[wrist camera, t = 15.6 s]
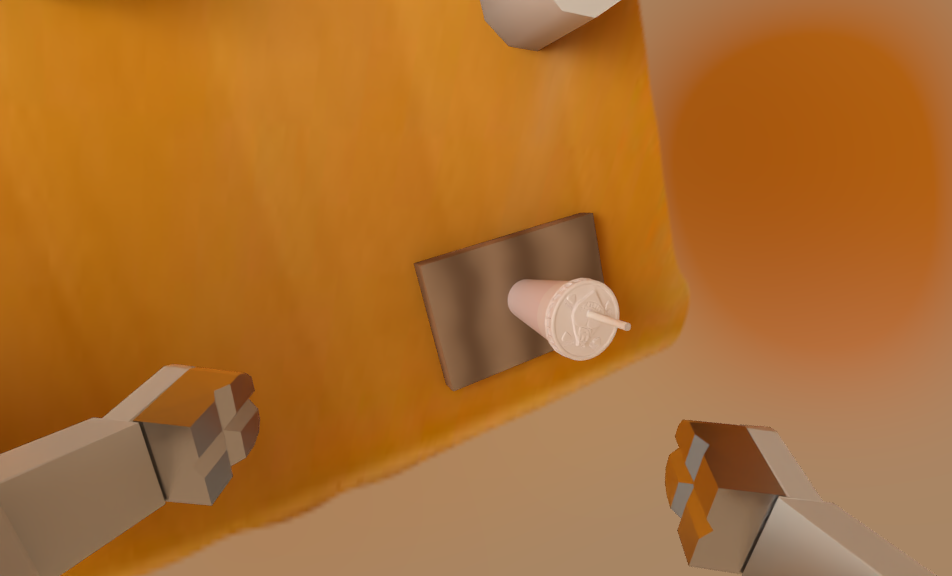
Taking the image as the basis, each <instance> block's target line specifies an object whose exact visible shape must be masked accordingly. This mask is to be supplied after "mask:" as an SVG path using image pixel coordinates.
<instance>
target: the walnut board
mask: <svg viewBox="0 0 952 576" xmlns="http://www.w3.org/2000/svg"><path fill="white" fill-rule="evenodd" d="M414 266H415V270H416V273H417V277H418V281H419V285H420V288H421V292H422V296H423V300H424V303H425V307H426V311H427V315H428V318H429V322H430V326H431V330H432V333H433V337H434V341H435V344H436V348H437V352H438V356H439V359H440V363H441V367H442V371H443V374H444V378H445V382H446V385H447V386H448V387H449V388H450V389H451V390H452V391H456V390H458V389H461V388H463V387H465V386H468V385H470V384H473V383H475V382H478V381H480V380H482V379H485V378H487V377H490V376H492V375H495V374H497V373H499V372H502V371H504V370H507V369H509V368H512V367H514V366H516V365H519V364H521V363H524V362H526V361H529V360H531V359H533V358H536V357H538V356H541V355H543V354H546V353H548V352H550V351H553V350H554V349H553V348H552V346H551V345H550V344H549V342H548V340H546V339H545V338H544V337H543V336H541V335H540V334H539V333H537V332H536V331H535V330H534V329H532V328H531V327H530V326H528V325H527V324H526V323H524V322H523V321H522V320H520V319H519V318H518V317H516V316H515V315H514V314H513V313H512V312H511V311H510V309H509V306H508V294H509V292H510V289H511V288H512V287H513V285H514V284H515V283H517V282H518V281H520V280H524V279H532V280H557V281H571V280H574V279H578V278H590V279H593V280H596V281H599V282H602V283H603V284H604V280H603V274H602V267H601V261H600V255H599V249H598V243H597V237H596V230H595V224H594V218H593V213H578V214H575V215H572V216H568V217H565V218H562V219H559V220H555V221H552V222H549V223H545V224H542V225H539V226H535V227H532V228H529V229H526V230H522V231H519V232H516V233H512V234H509V235H506V236H503V237H499V238H496V239H493V240H489V241H486V242H483V243H480V244H476V245H473V246H470V247H466V248H463V249H460V250H456V251H453V252H450V253H447V254H443V255H440V256H437V257H433V258H430V259H427V260H424V261H420V262H417V263H414Z"/></svg>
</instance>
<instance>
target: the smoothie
mask: <svg viewBox="0 0 952 576" xmlns="http://www.w3.org/2000/svg"><path fill="white" fill-rule="evenodd" d="M508 306H509V309H510V311H511V312H512V313H513V314H514V315H515V316H516V317H518V318H519V319H520V320H522V321H523V322H524V323H526V324H527V325H528V326H530V327H531V328H532V329H534V330H535V331H536V332H537V333H539V334H540V335H541V336H543V337H544V338H545V339H546V340H548V342H549V344H550V345H551V346H552V348H553V349H554V350H555V351H556V352H557V353H559V354H560V355H562V356H564V357H568V358H570V359H573V360H579V361H581V360H588V359H591V358H594V357H596V356H597V355H599V354H600V353H602V352H603V351H604V350H605V349H606V348H607V347H608V346H609V344H610V343H611V341H612V340H613V338H614V336H615V334H616V331H617V328H620V329H623V330H625V331H629V330H630V328H631V325H630V323H627V322H624V321H621V320H619V305H618V302H617V299H616V297H615V295H614V293H613V292H612V290H611V289H610V288H609V287H608V286H607V285H605V284H603V283H602V282H599V281H596V280H593V279H590V278H578V279H574V280H571V281H557V280H532V279H524V280H520V281H518V282H517V283H515V284H514V285H513V287H512V288H511V289H510V292H509V294H508Z"/></svg>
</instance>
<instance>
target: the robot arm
mask: <svg viewBox="0 0 952 576" xmlns="http://www.w3.org/2000/svg"><path fill="white" fill-rule="evenodd" d="M254 391H255V390H254V386H253V382H252V378H251V376H249V375H248V374H246V373H243V372H235V371H227V370H220V369H212V368H204V367H193V366H186V365H178V364H171V365H167V366H164V367H163V368H161V369H160V370H159V371H158V372H157V373H155V374H154V375H153V376H152V377H151V378H149V379H148V380H147V381H146V382H145V383H143V384H142V385H141V386H140V387H139V388H137V389H136V390H135V391H134V392H133V393H131V394H130V395H129V396H128V397H127V398H126V399H124V400H123V401H122V402H121V403H120V404H118V405H117V406H116V407H115V408H114V409H112V410H111V411H110V412H109V413H108V414H106V415H105V416H104V417H103V418H95V417H93V418H91V419H88V420H86V421H83V422H81V423H78V424H76V425H73V426H70V427H68V428H65V429H63V430H60V431H58V432H55V433H53V434H50V435H48V436H45V437H42V438H40V439H37V440H35V441H32V442H30V443H27V444H25V445H22V446H20V447H17V448H14V449H12V450H9V451H7V452H4V453H2V454H0V576H60V575H61V574H63V573H64V572H66V571H67V570H69V569H70V568H72V567H73V566H75V565H76V564H78V563H79V562H81V561H82V560H84V559H85V558H87V557H88V556H89V555H91V554H92V553H94V552H95V551H97V550H98V549H100V548H101V547H103V546H104V545H106V544H107V543H109V542H110V541H112V540H113V539H115V538H116V537H117V536H119V535H120V534H122V533H123V532H125V531H126V530H128V529H129V528H131V527H132V526H134V525H135V524H137V523H138V522H140V521H141V520H143V519H144V518H145V517H147V516H148V515H150V514H151V513H153V512H154V511H156V510H157V509H159V508H160V507H162V506H163V505H165V501H168V502H178V503H189V504H199V505H210V506H212V505H213V503H214V502H215V500H216V499H217V498H218V496H219V495H220V493H221V492H222V491H223V489H224V488H225V486H226V485H227V484H228V482H229V481H230V479H231V478H232V477H233V474H232V465H234V464H236V463H238V462H239V461H241V460H243V459H245V458H246V457H247V455H248V454H249V452H250V451H251V449H252V448H253V446H254V444H255V441H256V438H257V436H258V433H259V424H260V417H259V412H258V408H257V407H256V406H255V405H254V404H253V403H252V402H251V401H250V400H249V398H250V396H251V395H252V394H253V392H254ZM675 438H676V440H677V443H678V446H679V448H678V449H677V450H675V451H674V452H672V453H671V454H670V455H669V458H668V462H667V466H666V473H665V486H666V493H667V498H668V501H669V504H670V508H671V509H672V510H673V511H674V512H675V513H676V514H677V515H678V516H679V517H680V518H681V521H680V524H679V527H678V530H677V531H678V534H679V537H680V540H681V543H682V546H683V549H684V553H685V556H686V559H687V562H688V565H689V566H691V567H698V568H704V569H710V570H718V571H724V572H730V573H737V574H742V576H937V575H936V574H934V573H933V572H931V571H930V570H928V569H927V568H925V567H924V566H923V565H921V564H920V563H918V562H917V561H915V560H914V559H913V558H911V557H910V556H908V555H907V554H906V553H904V552H903V551H901V550H900V549H899V548H897V547H896V546H894V545H893V544H891V543H890V542H889V541H887V540H886V539H884V538H883V537H881V536H880V535H879V534H877V533H876V532H874V531H873V530H871V529H870V528H869V527H867V526H866V525H864V524H863V523H861V522H860V521H859V520H857V519H855V518H854V517H853V516H851V515H850V514H848V513H847V512H846V511H844V510H843V509H841V508H840V507H839V506H837V505H836V504H834V503H831V502H823V500H822V499H821V497H820V496H819V494H818V493H817V491H816V490H815V488H814V487H813V485H812V484H811V482H810V481H809V480H808V478H807V476H806V475H805V473H804V472H803V470H802V469H801V467H800V466H799V464H798V463H797V461H796V460H795V458H794V457H793V455H792V454H791V452H790V451H789V449H788V448H787V446H786V445H785V443H784V442H783V440H782V439H781V437H780V436H779V434H778V433H777V432H776V431H775V430H774V429H772V428H771V427H763V426H751V425H731V424H722V423H712V422H702V421H692V420H682V421H681V423H680V424H679V426H678V429H677V432H676V435H675Z"/></svg>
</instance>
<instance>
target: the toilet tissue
mask: <svg viewBox="0 0 952 576" xmlns="http://www.w3.org/2000/svg"><path fill="white" fill-rule="evenodd" d="M619 1H621V0H480V2H481V6H482V10H483V14H484V19H485V21H486V22H487V23H488V24H489V25H490V26H491V28H492V29H493V30H494V31H495V32H496V33H497V34H498V35H499V36H500V37H501V38H502V39H503V40H504V42H505V43H506V44H507V45H508V46H511V47H517V48H522V49H528V50H534V51H539V50H540V49H542V48H544V47H545V46H547V45H549V44H551V43H552V42H554V41H556V40H558V39H559V38H561V37H563V36H565V35H566V34H568V33H570V32H572V31H573V30H575V29H577V28H579V27H580V26H582V25H584V24H586V23H587V22H589V21H591V20H593V19H594V18H596V17H597V16H599V15H600V14H602V13H603V12H605V11H606V10H608V9H609V8H610V7H612V6H613V5H615V4H616V3H618V2H619Z"/></svg>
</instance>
